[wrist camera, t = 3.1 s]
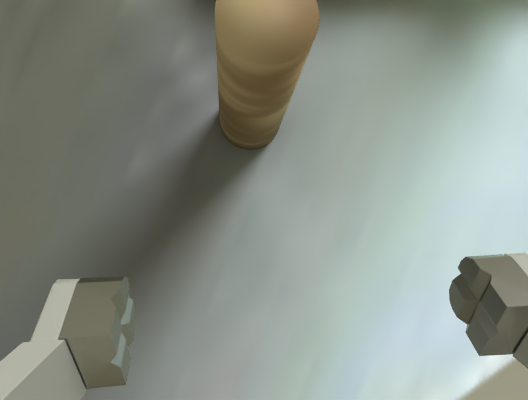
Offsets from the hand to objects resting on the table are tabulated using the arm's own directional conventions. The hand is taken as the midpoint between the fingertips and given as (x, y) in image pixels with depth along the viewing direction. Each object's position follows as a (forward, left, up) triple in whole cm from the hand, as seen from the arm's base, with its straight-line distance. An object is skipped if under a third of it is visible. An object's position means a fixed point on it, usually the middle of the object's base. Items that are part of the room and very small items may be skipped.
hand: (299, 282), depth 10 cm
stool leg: (0, +9, -14) cm, 16 cm away
